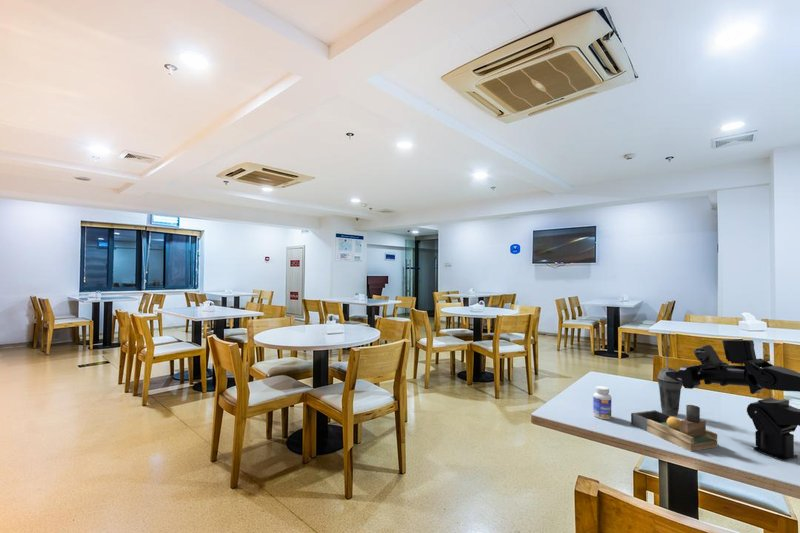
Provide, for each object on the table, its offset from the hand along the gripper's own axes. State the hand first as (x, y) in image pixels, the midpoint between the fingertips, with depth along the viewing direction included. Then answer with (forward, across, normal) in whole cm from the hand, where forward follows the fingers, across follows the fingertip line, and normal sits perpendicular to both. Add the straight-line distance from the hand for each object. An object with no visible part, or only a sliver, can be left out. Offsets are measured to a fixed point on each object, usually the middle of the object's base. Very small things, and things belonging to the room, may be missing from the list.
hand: (674, 371), depth 123 cm
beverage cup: (+6, -2, +15) cm, 17 cm away
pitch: (-7, +16, +16) cm, 24 cm away
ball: (-5, +15, +14) cm, 21 cm away
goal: (+2, +14, +15) cm, 21 cm away
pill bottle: (+13, +22, +12) cm, 28 cm away
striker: (-11, +16, +15) cm, 24 cm away
